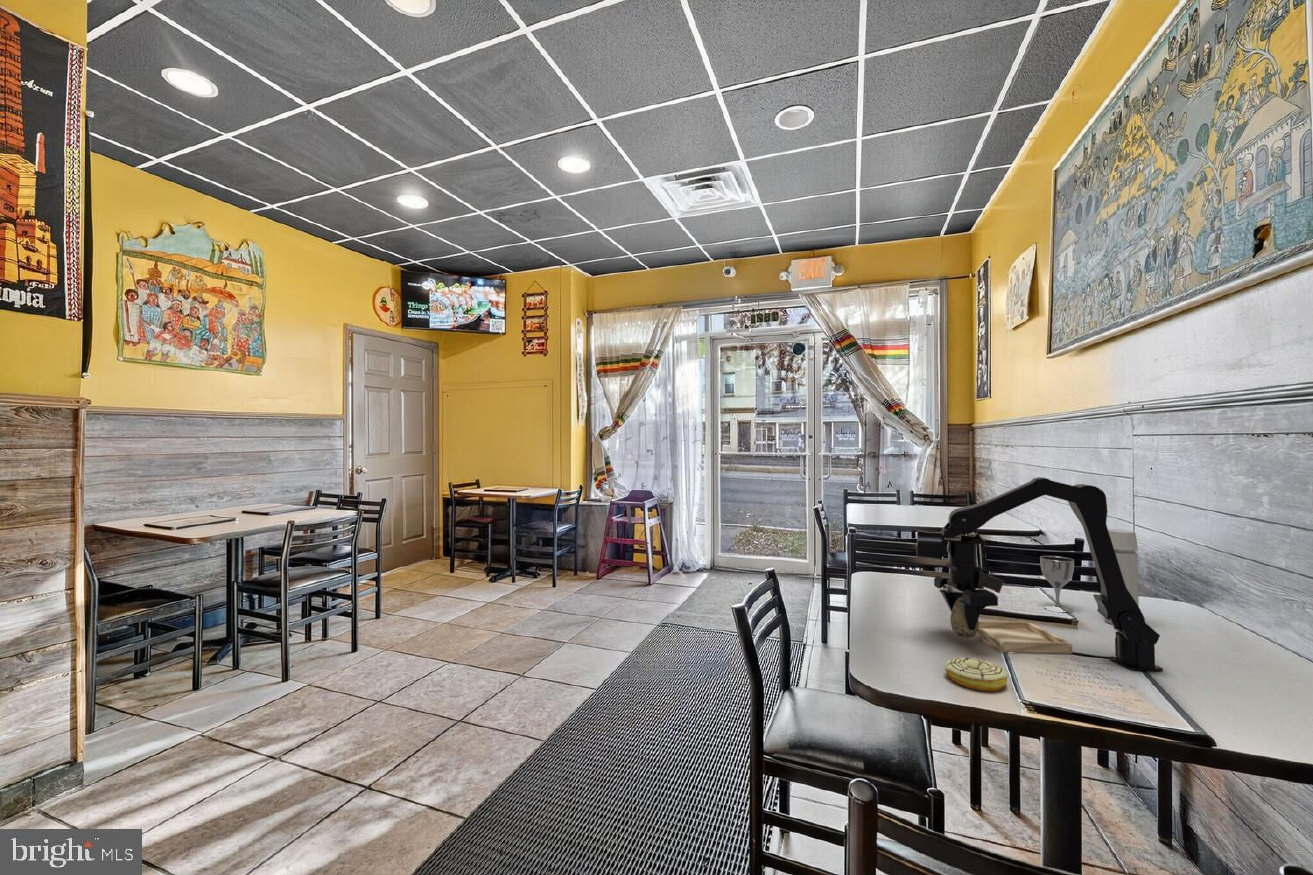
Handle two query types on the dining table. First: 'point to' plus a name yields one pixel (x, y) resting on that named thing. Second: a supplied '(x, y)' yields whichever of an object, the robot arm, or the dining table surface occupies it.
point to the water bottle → (1126, 558)
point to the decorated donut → (976, 674)
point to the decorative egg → (961, 622)
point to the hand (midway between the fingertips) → (964, 625)
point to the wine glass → (1057, 573)
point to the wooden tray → (1020, 638)
